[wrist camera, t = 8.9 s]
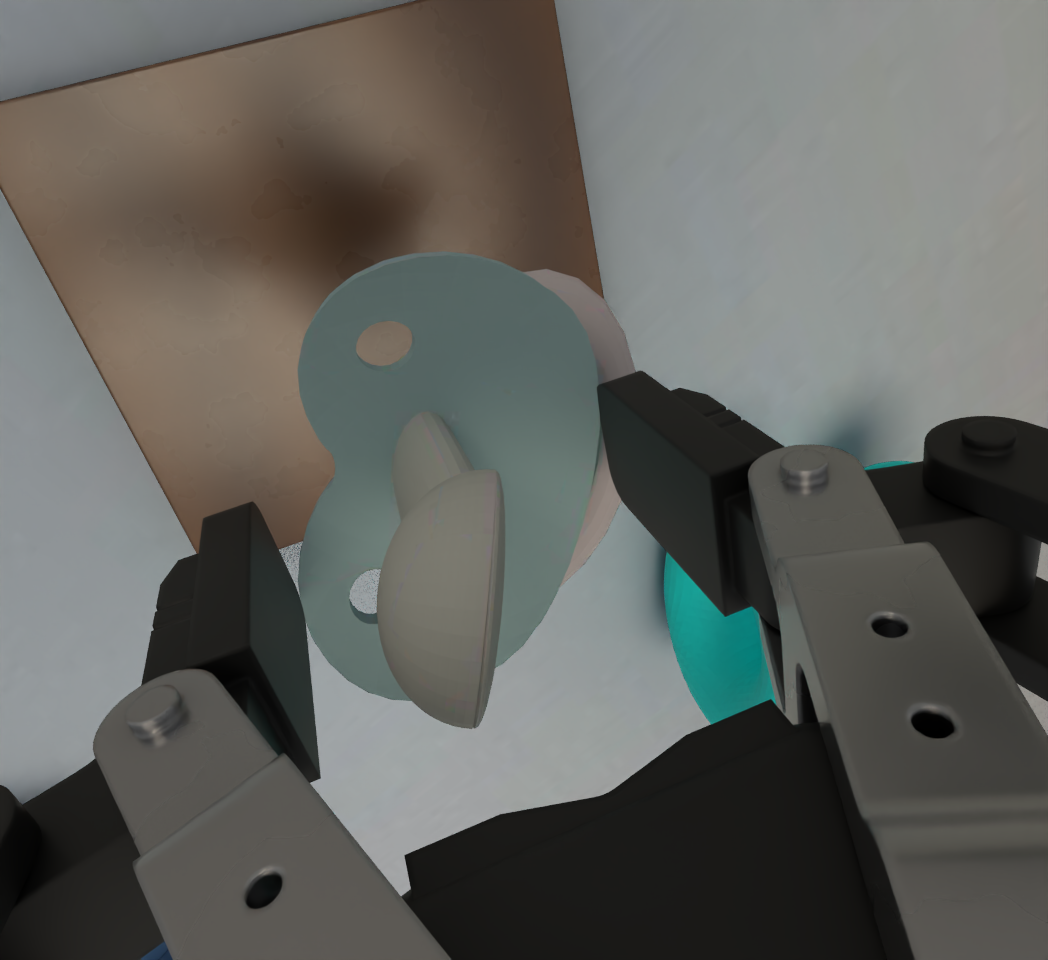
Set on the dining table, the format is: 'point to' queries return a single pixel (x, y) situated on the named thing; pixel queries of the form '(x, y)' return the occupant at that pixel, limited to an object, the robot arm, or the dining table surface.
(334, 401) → the pacifier
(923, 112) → the dining table surface
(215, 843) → the robot arm
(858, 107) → the dining table surface
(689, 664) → the donuts
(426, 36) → the board
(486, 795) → the dining table surface
